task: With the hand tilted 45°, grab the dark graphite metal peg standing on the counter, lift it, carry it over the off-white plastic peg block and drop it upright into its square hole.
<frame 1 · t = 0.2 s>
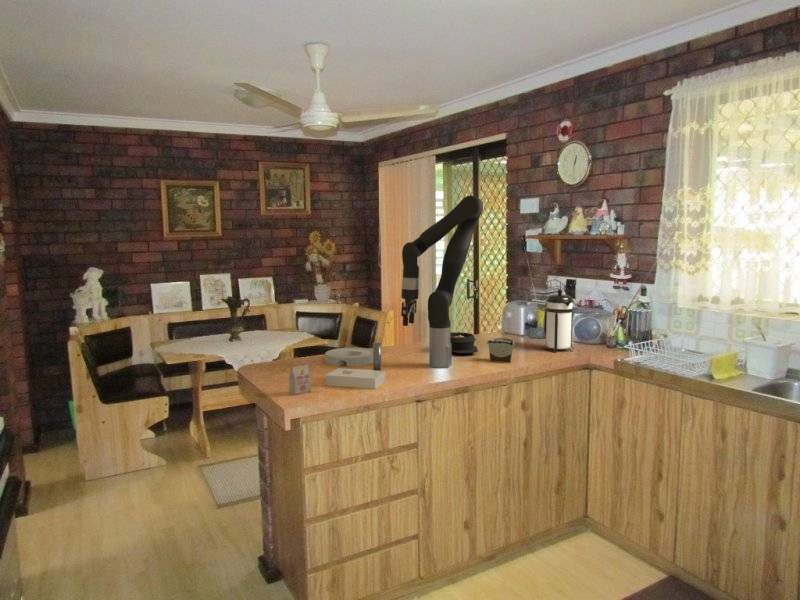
hand: (408, 324, 251), 18 cm above the counter, tool pointing down, fingers open, 8 cm apart
casserole: (458, 352, 280), on the counter
coffee press: (556, 349, 283), on the counter
graphite peg: (377, 377, 231), on the counter
food container: (501, 361, 259), on the counter
ashtray: (350, 361, 262), on the counter
peg block: (356, 383, 222), on the counter
grey printed package: (300, 393, 209), on the counter
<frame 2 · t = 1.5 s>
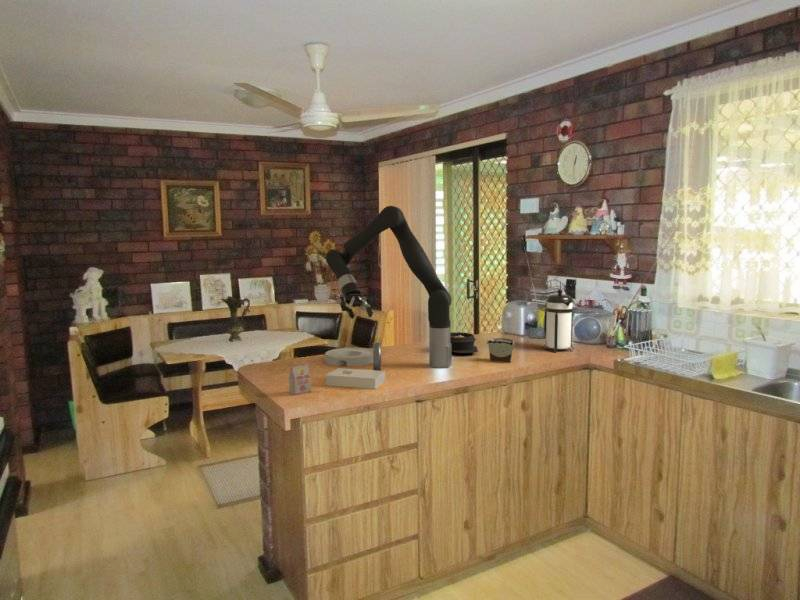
hand: (362, 316, 238), 23 cm above the counter, tool tilted 45°, fingers open, 8 cm apart
nothing on the counter moved.
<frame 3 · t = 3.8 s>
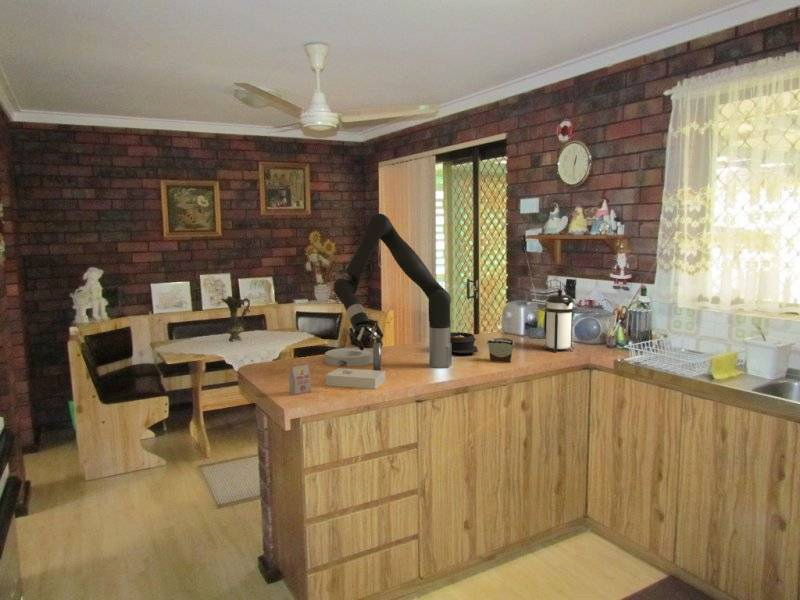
hand: (371, 348, 233), 11 cm above the counter, tool tilted 45°, fingers open, 8 cm apart
nothing on the counter moved.
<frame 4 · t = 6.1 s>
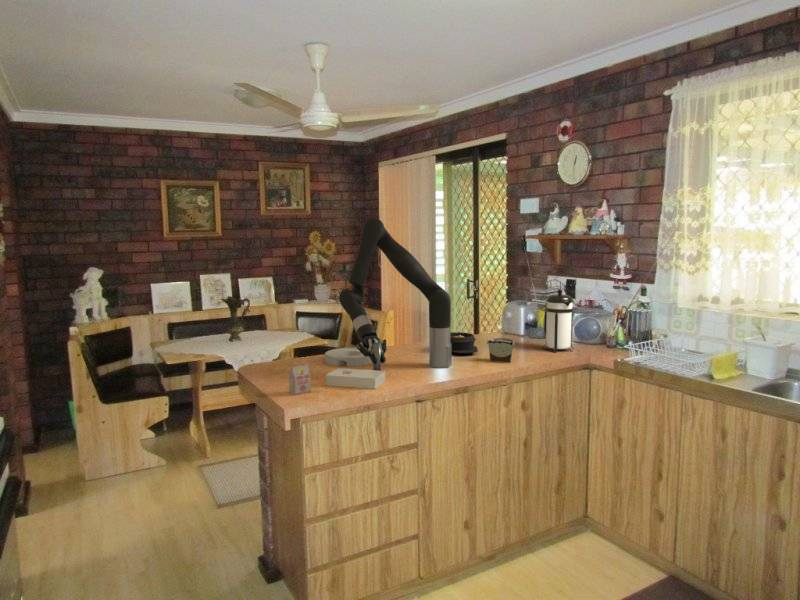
hand: (379, 362, 229), 6 cm above the counter, tool tilted 45°, fingers closed on graphite peg, 3 cm apart
graphite peg: (377, 377, 231), on the counter, touching gripper
everything else where it was.
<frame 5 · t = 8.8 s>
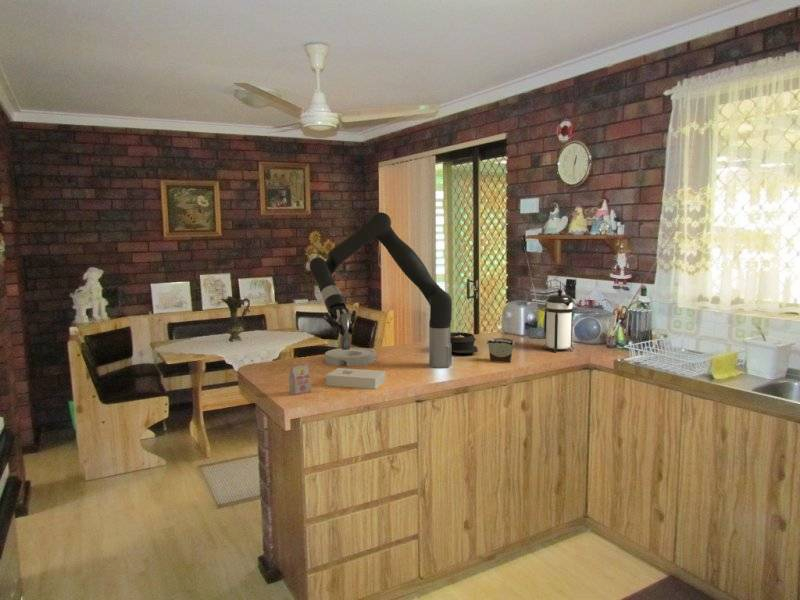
hand: (347, 333, 219), 20 cm above the counter, tool tilted 45°, fingers closed on graphite peg, 3 cm apart
graphite peg: (345, 349, 222), point 13 cm above the counter, touching gripper
everything else where it was.
when the fingers open (9 cm above the counter, at t = 11.5 s): graphite peg drops 2 cm, resting in peg block.
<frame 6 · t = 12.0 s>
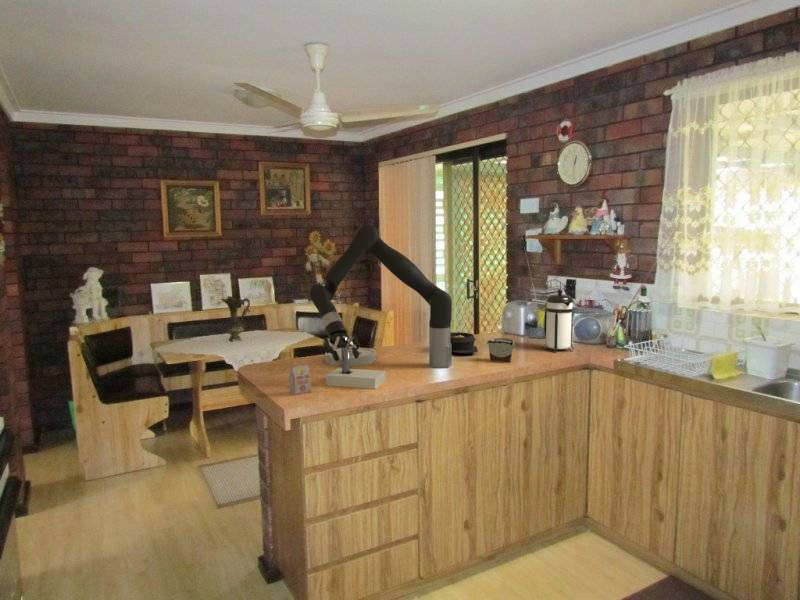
hand: (347, 358, 221), 10 cm above the counter, tool tilted 45°, fingers open, 8 cm apart
graphite peg: (346, 382, 223), resting in peg block
everything else where it was.
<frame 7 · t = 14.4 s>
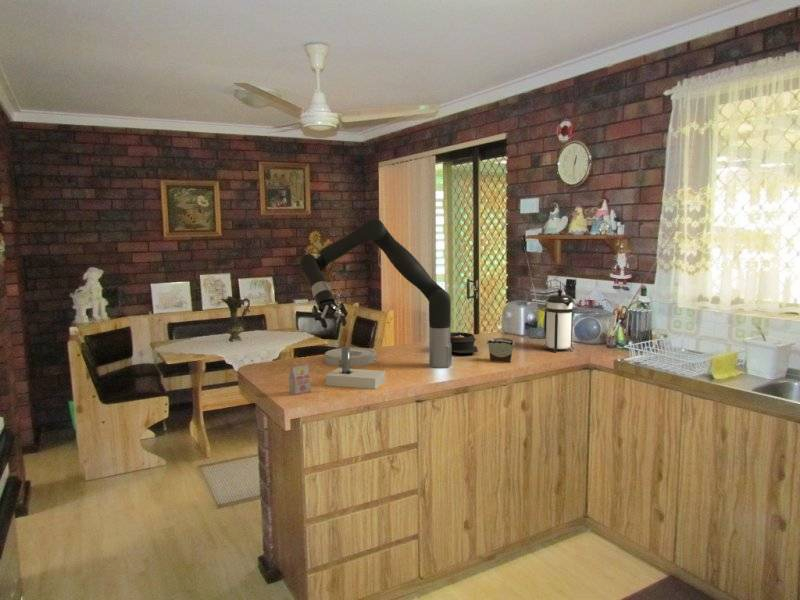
hand: (335, 326, 232), 20 cm above the counter, tool tilted 40°, fingers open, 8 cm apart
nothing on the counter moved.
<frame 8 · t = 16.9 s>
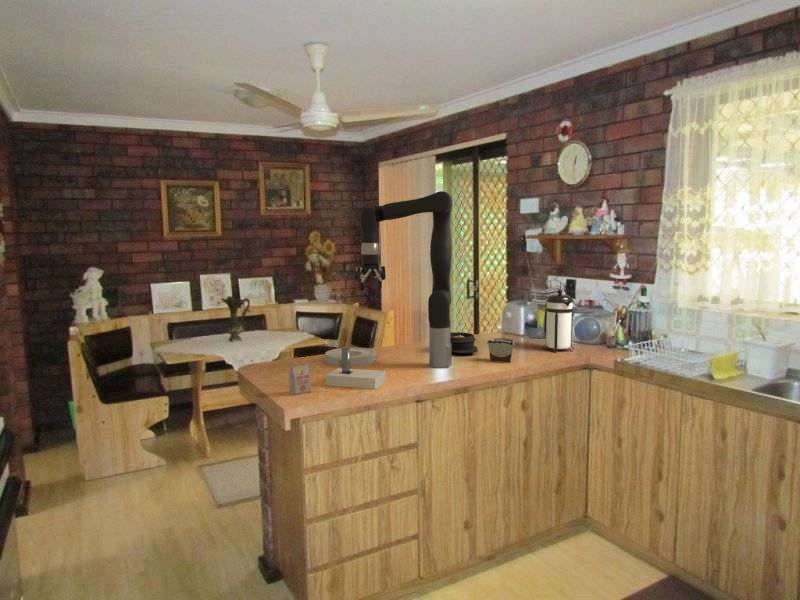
hand: (370, 290, 250), 33 cm above the counter, tool pointing down, fingers open, 8 cm apart
nothing on the counter moved.
at the end: graphite peg 0.1 cm from the target spot on the peg block, point 0.0 cm above the peg block's base; graphite peg tilted 0°; the gripper is holding nothing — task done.
